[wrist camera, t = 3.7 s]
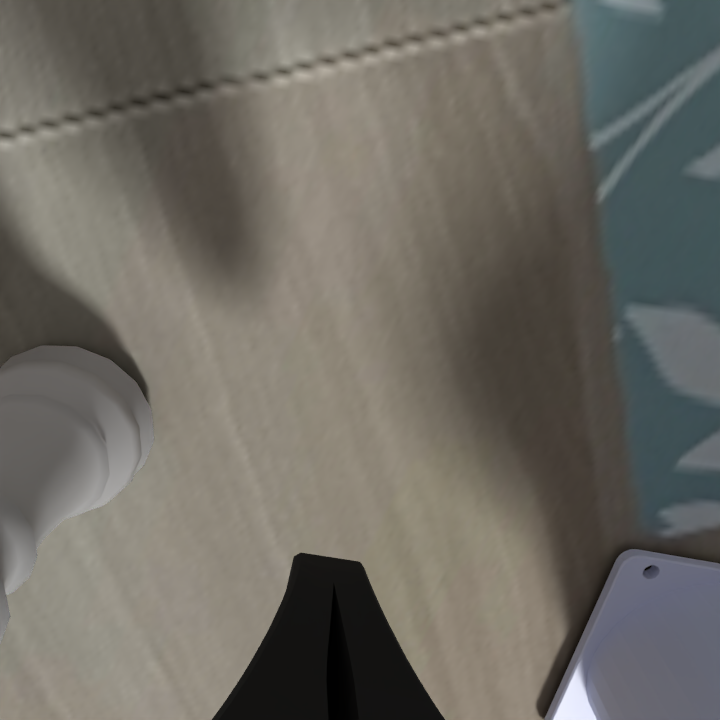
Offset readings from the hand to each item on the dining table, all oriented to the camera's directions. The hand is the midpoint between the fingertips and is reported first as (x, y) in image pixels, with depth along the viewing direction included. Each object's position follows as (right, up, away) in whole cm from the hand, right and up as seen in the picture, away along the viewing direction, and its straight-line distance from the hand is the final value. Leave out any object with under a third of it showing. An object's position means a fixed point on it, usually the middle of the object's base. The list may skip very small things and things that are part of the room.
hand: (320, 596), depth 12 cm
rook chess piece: (-7, +3, +5) cm, 9 cm away
